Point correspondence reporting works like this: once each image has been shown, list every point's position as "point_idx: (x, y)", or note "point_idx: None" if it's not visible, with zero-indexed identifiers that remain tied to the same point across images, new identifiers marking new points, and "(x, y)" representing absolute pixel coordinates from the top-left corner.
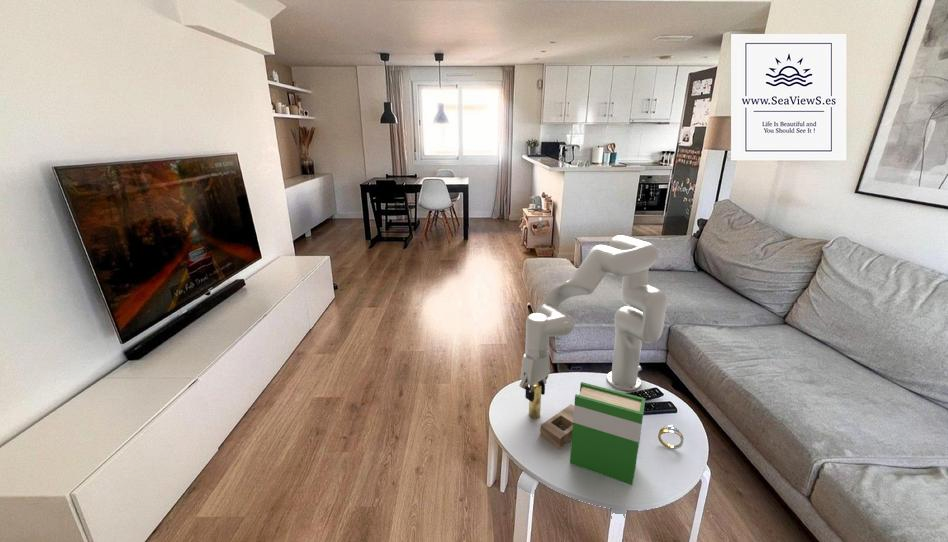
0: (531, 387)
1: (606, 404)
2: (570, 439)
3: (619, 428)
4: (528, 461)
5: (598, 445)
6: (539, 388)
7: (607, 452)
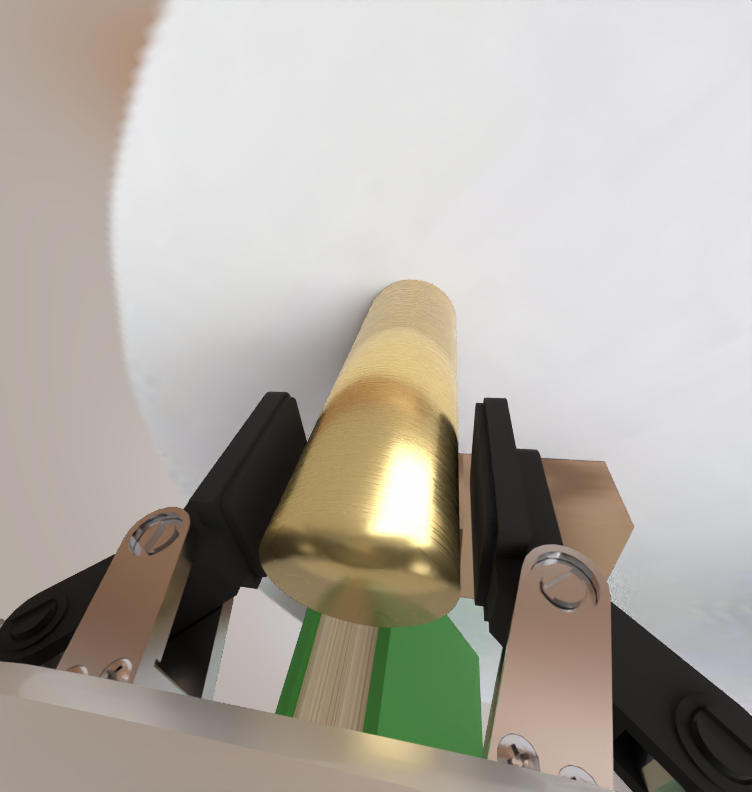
0: (172, 672)
1: None
2: None
3: None
4: (189, 487)
5: None
6: (356, 623)
7: None
